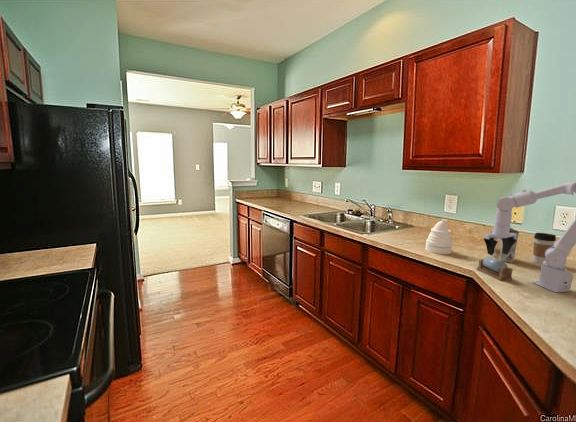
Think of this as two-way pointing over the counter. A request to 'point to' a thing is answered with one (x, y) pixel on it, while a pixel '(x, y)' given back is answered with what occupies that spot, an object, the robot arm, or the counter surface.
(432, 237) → the honey pot
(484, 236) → the robot arm
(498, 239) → the coffee box
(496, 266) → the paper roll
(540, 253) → the coffee cup
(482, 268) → the roll cradle
